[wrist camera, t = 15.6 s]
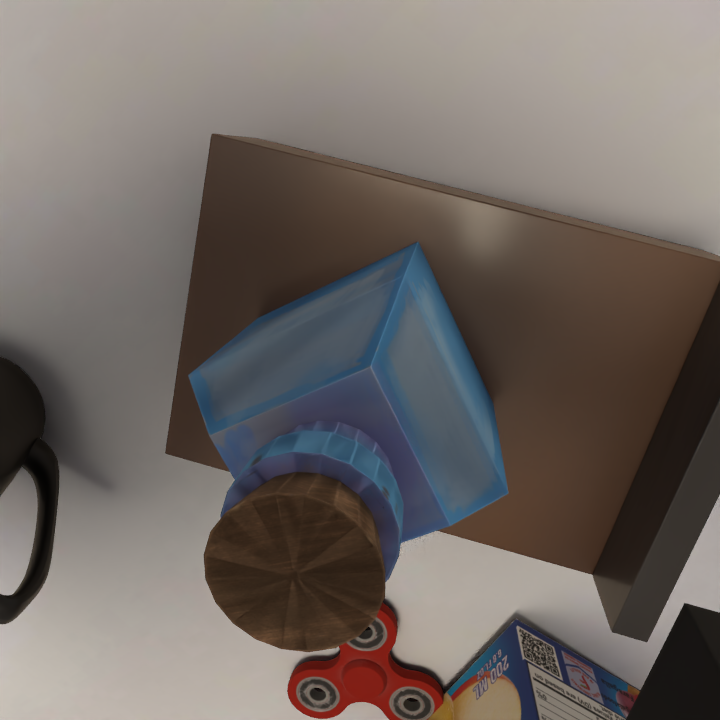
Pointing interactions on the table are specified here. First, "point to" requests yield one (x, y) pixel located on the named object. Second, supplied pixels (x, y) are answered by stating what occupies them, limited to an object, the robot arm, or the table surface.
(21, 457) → the mug
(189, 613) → the table surface
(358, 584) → the perfume bottle
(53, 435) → the table surface
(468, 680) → the juice carton
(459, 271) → the shelf
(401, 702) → the fidget spinner
